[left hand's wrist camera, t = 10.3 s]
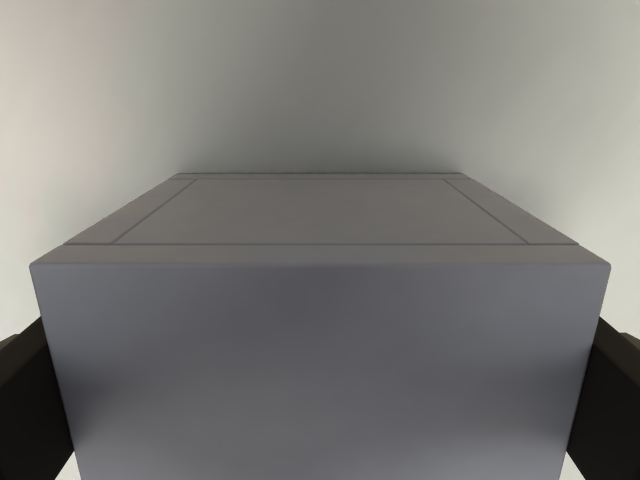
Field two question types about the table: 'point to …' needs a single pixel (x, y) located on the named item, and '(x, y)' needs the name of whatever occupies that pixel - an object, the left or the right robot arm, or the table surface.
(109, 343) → the cabinet
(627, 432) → the left robot arm
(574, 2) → the table surface
